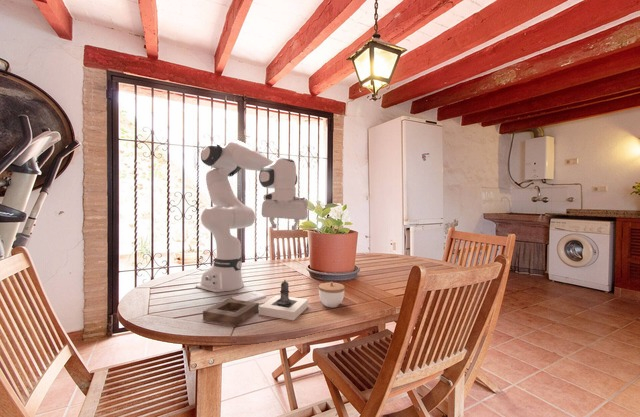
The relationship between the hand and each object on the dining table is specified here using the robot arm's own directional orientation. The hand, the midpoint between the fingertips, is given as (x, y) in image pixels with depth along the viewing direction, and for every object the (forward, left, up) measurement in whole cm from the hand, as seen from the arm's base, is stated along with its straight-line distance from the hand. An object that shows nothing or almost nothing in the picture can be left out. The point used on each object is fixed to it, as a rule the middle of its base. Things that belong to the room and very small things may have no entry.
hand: (283, 229), depth 123 cm
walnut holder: (-10, -22, -30) cm, 39 cm away
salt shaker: (+6, -10, -31) cm, 33 cm away
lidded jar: (+21, +2, -31) cm, 37 cm away
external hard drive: (-14, -4, -31) cm, 34 cm away
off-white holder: (+6, -11, -30) cm, 33 cm away
